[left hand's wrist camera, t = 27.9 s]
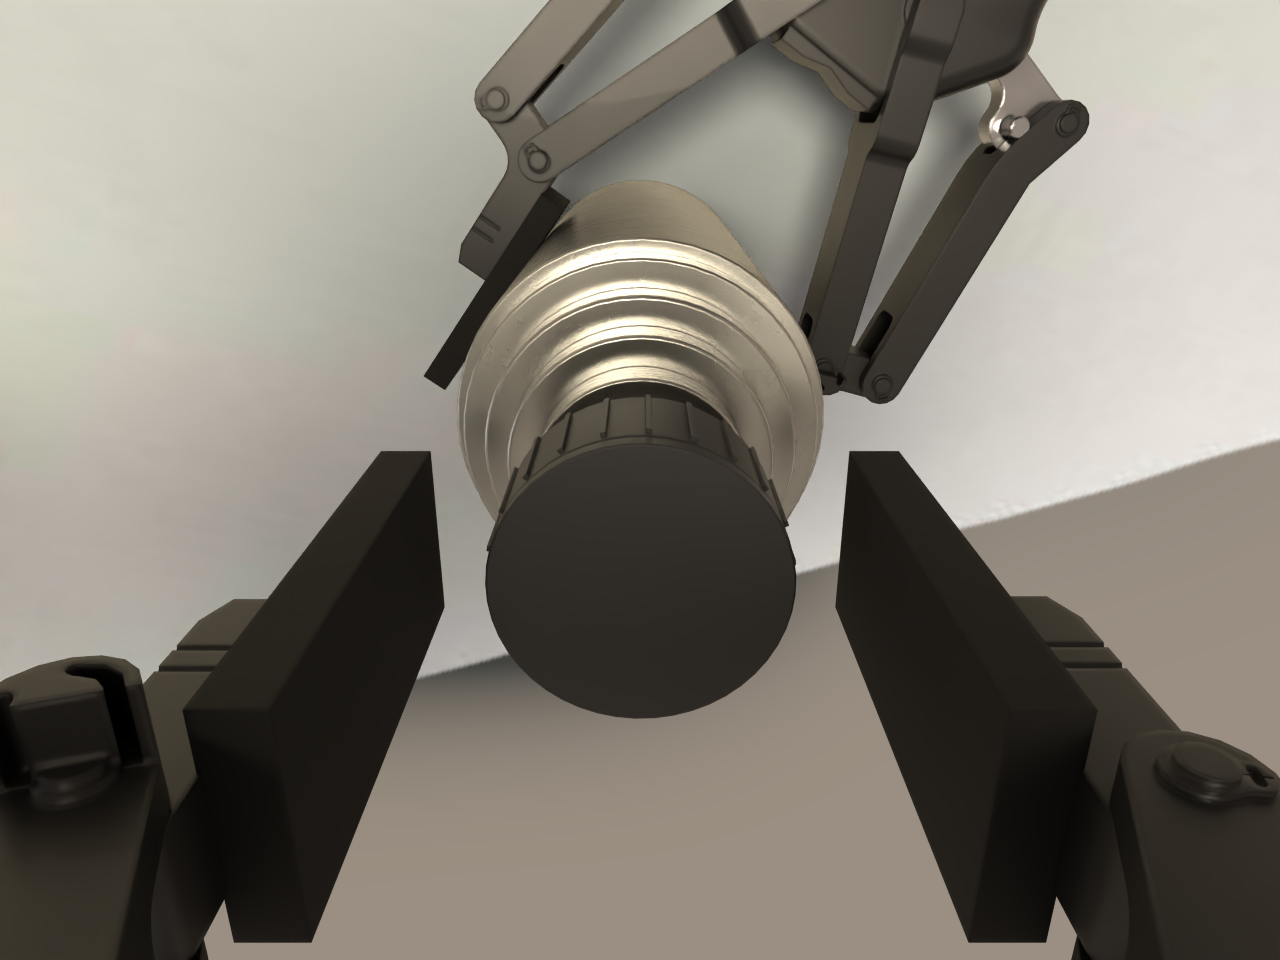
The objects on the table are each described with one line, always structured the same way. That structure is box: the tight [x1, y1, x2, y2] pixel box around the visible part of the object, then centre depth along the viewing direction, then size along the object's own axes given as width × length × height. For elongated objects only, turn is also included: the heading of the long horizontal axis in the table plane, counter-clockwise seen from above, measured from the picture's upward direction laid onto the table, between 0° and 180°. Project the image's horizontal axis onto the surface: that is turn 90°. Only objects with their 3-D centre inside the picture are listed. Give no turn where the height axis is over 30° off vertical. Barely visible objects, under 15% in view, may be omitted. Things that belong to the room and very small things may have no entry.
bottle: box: [458, 180, 824, 521], centre depth 24 cm, size 8×8×23 cm
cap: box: [485, 395, 796, 719], centre depth 14 cm, size 4×4×2 cm
